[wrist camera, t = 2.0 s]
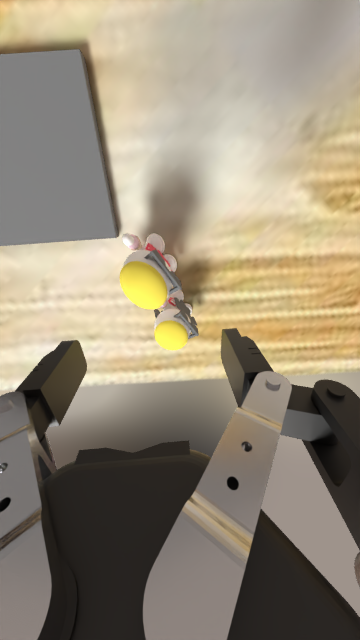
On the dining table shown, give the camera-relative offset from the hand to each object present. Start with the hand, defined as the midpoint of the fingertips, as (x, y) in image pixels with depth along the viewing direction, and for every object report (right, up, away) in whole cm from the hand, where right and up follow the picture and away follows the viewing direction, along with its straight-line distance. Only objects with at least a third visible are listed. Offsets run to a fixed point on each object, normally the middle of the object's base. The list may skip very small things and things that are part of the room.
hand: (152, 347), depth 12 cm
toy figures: (0, +6, +12) cm, 13 cm away
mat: (-11, +15, +6) cm, 19 cm away
